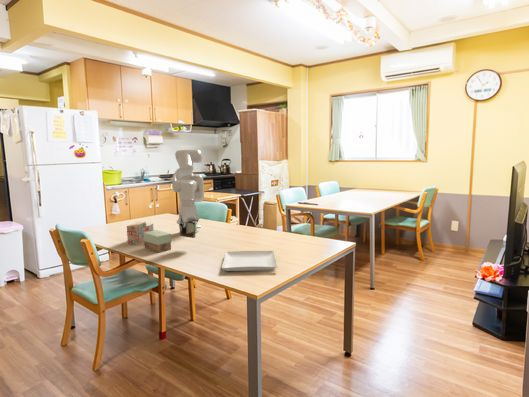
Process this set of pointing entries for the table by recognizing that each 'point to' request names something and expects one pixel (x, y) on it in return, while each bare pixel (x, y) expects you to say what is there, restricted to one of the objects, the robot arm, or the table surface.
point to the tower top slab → (157, 237)
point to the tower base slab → (157, 247)
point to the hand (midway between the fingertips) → (188, 232)
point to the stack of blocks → (138, 232)
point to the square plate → (249, 261)
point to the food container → (189, 229)
